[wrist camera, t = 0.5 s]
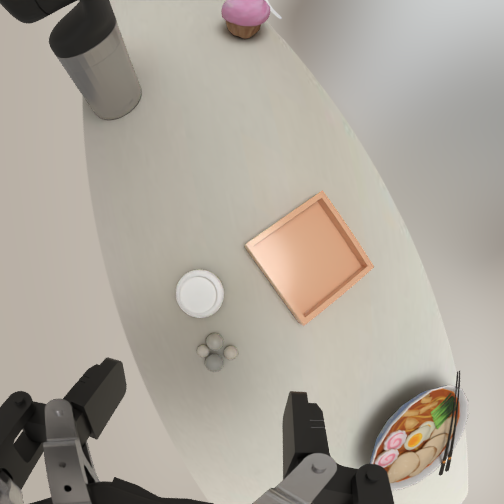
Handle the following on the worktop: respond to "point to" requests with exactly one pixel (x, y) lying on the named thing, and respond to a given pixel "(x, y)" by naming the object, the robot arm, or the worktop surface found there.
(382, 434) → the ramen bowl
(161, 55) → the worktop surface
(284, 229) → the terracotta dish
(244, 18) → the cupcake
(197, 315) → the supplement bottle
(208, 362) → the pebbles
